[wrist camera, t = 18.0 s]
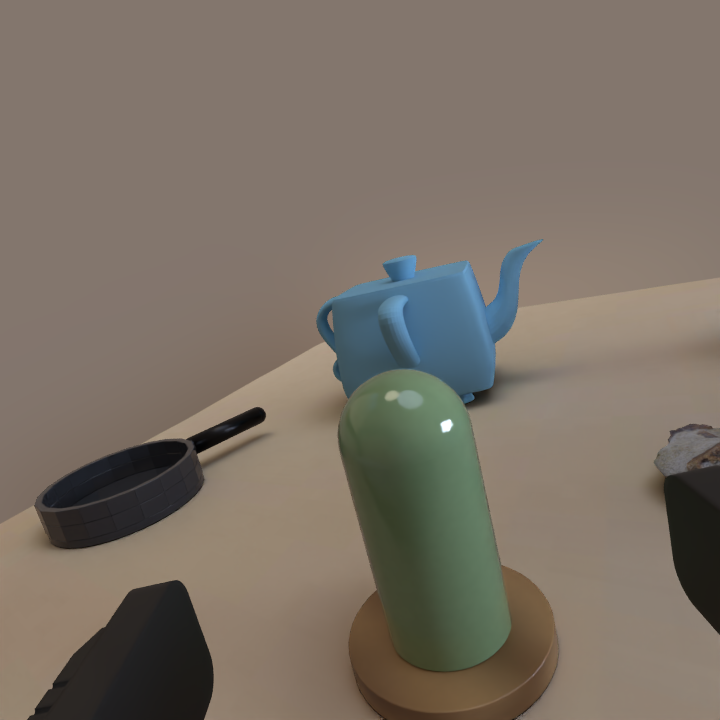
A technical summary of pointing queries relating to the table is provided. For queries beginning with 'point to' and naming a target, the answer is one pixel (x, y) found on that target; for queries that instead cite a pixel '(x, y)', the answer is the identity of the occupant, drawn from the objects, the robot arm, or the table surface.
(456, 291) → the teapot
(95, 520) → the steel pan
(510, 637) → the disc
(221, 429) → the pan handle
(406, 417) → the green capsule
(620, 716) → the table surface
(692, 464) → the stone
